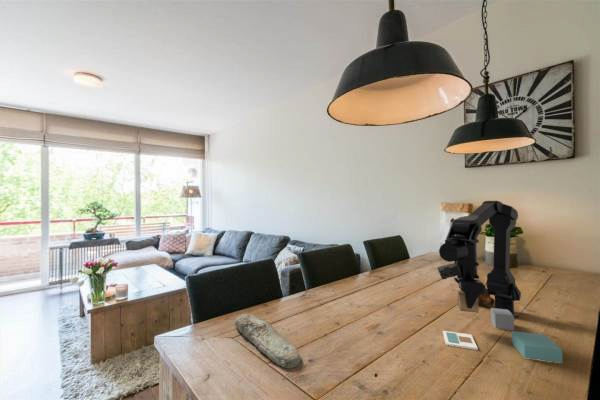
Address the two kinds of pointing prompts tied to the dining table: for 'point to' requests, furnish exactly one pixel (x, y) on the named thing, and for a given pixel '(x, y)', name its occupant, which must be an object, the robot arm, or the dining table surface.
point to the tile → (459, 340)
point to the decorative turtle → (485, 298)
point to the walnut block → (463, 305)
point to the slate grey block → (502, 319)
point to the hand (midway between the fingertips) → (467, 304)
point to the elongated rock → (268, 340)
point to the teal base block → (536, 346)
